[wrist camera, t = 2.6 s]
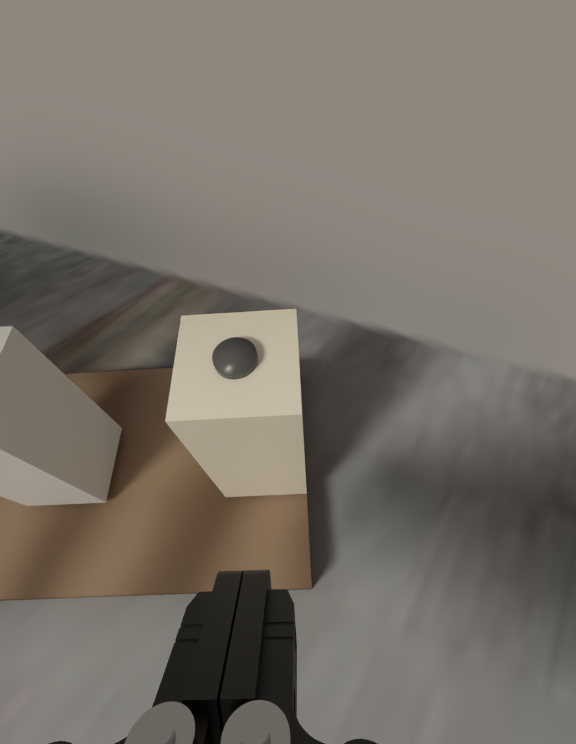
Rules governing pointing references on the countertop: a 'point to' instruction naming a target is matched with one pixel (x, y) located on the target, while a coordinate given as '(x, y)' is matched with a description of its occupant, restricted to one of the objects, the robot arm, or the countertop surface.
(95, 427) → the three dot key
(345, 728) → the countertop surface
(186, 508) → the brown wooden board
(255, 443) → the one dot key
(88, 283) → the countertop surface
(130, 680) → the countertop surface
